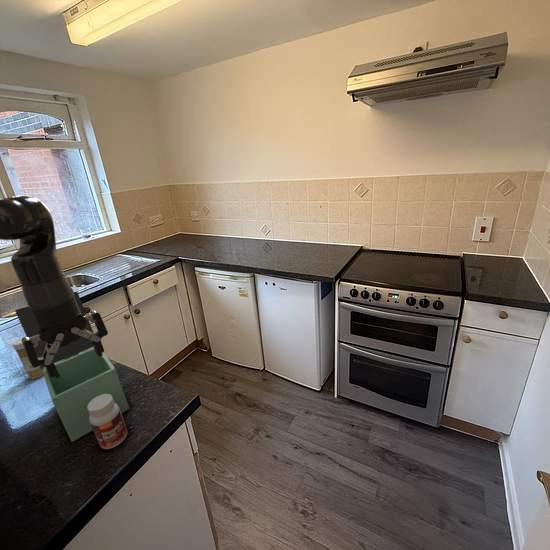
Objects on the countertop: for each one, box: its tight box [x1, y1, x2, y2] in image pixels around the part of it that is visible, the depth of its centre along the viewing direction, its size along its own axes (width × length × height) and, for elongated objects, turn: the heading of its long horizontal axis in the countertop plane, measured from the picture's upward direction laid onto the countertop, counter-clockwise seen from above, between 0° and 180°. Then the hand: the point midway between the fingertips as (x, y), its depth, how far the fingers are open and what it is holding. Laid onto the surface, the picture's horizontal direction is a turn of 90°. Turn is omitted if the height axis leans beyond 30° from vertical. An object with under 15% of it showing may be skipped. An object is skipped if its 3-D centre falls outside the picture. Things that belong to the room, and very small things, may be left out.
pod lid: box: [14, 290, 94, 369], centre depth 80 cm, size 16×14×1 cm
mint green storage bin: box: [42, 347, 130, 443], centre depth 79 cm, size 16×14×13 cm
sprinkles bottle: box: [12, 337, 45, 380], centre depth 95 cm, size 5×5×13 cm
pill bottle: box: [87, 394, 128, 450], centre depth 69 cm, size 6×6×11 cm
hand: (79, 365), depth 66 cm, fingers open, 8 cm apart
